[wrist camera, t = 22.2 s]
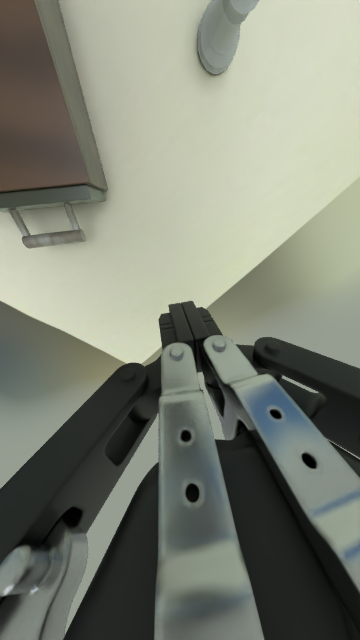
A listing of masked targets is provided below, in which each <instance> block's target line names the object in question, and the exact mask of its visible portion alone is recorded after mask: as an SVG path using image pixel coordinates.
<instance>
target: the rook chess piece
mask: <svg viewBox="0 0 360 640" xmlns="http://www.w3.org/2000/svg"><path fill="white" fill-rule="evenodd" d="M258 1H259V0H212V1H211V2H210V3H209V4H208V6H207V8H206V10H205V12H204V14H203V17H202V19H201V21H200V26H199V31H198V51H199V55H200V59H201V62H202V63H203V65H204V67H205V68H206V70H208V71H209V72H211V73H212V74H220V73H222V72H223V71H224V70H226V69H227V68H228V66H229V64H230V63H231V61H232V59H233V56H234V55H235V52H236V49H237V45H238V42H239V36H240V25H241V22H243V21H244V20H245V19H246V17H247V15H248V13H249V12H250V11H251V10H253V9H254V8H255V6H256V5H257V3H258Z"/></svg>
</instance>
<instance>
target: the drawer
mask: <svg viewBox="0 0 360 640" xmlns="http://www.w3.org/2000/svg"><path fill="white" fill-rule="evenodd" d="M100 201H105V197H104V193H103V191H102V190H100V189H97V188H94V187H92V186H89V185H86V184H84V185H74V186H64V187H54V188H44V189H34V190H24V191H14V192H4V193H0V212H8V211H9V212H10V213H11V215H12V217H13V219H14V221H15V222H16V224H17V226H18V228H19V229H20V231H21V233H22V235H23V237H22V241H23V244H24V245H25V246H26V247H27V248H36V247H44V246H52V245H60V244H67V243H75V242H83V241H86V238H85V234H84V232H83V231H82V230H81V229H80V228H79V225H78V223H77V220H76V218H75V215H74V212H73V210H72V207H71V205H72V204H81V203H91V202H100ZM63 205H64V207H65V209H66V212H67V214H68V217H69V219H70V222H71V224H72V227H73V229H74V230H71V231H63V232H55V233H47V234H39V235H31V236H30V233H29V231H28V229H27V227H26V225H25V223H24V222H23V220H22V218H21V216H20V214H19V212H18V210H26V209H35V208H45V207H54V206H63ZM79 229H80V230H79Z"/></svg>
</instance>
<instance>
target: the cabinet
mask: <svg viewBox="0 0 360 640" xmlns="http://www.w3.org/2000/svg"><path fill="white" fill-rule="evenodd" d="M84 184H86V185H89V186H92V187H94V188H97V189H100V190H102V191H107V190H108V188H107V184H106V180H105V176H104V172H103V169H102V165H101V161H100V157H99V154H98V150H97V146H96V142H95V139H94V135H93V131H92V127H91V124H90V120H89V116H88V112H87V108H86V105H85V101H84V97H83V93H82V90H81V86H80V82H79V78H78V75H77V71H76V67H75V63H74V60H73V56H72V52H71V48H70V44H69V41H68V37H67V33H66V29H65V26H64V22H63V18H62V14H61V11H60V7H59V3H58V0H0V193H4V192H14V191H24V190H34V189H44V188H54V187H64V186H74V185H84Z"/></svg>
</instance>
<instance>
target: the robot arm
mask: <svg viewBox="0 0 360 640" xmlns="http://www.w3.org/2000/svg"><path fill="white" fill-rule="evenodd" d="M169 312H170V313H165V314H161V316H160V318H159V326H160V333H161V341H162V353H161V356H160V357H159V358H158V359H157V360H156V361H154V362H153V363H151V364H149V365H147V366H145V367H144V366H143V365H141V364H139V363H128V364H126V365H123V366H121V367H120V368H118V369H117V370H116V371H115V372H114V373H113V374H112V375H111V377H109V378H108V380H107V381H105V383H104V384H103V385H102V386H101V387H100V388H99V389H98V390H97V391H96V392H95V393H94V394H93V395H92V396H91V397H90V398H89V399H88V400H87V401H86V402H85V403H84V404H83V405H82V406H81V407H80V408H79V409H78V410H77V411H76V412H75V413H74V414H73V415H72V416H71V417H70V418H69V419H68V420H67V421H66V422H65V423H64V424H63V426H61V427H60V429H59V430H58V431H57V432H56V433H55V434H54V435H53V436H52V437H51V438H50V439H49V440H48V441H47V442H46V443H45V444H44V445H43V446H42V447H41V448H40V449H39V450H38V451H37V452H36V453H35V454H34V455H33V456H32V457H31V458H30V459H29V460H28V461H27V462H26V463H25V464H24V465H23V466H22V467H21V468H20V470H19V471H17V473H16V474H15V475H14V476H13V477H12V478H11V479H10V480H9V481H8V482H7V483H6V484H5V485H4V486H3V487H2V488H1V489H0V640H360V460H359V459H358V458H356V457H355V456H353V455H351V454H350V453H348V452H347V451H349V452H351V453H353V454H354V455H356V456H358V457H359V458H360V369H359V368H357V367H354V366H351V365H348V364H346V363H343V362H340V361H337V360H334V359H332V358H329V357H326V356H323V355H321V354H318V353H315V352H312V351H310V350H307V349H304V348H301V347H298V346H296V345H293V344H290V343H287V342H285V341H282V340H279V339H276V338H272V337H263V338H260V339H258V340H257V341H256V342H255V345H254V346H250V345H238V344H235V343H234V342H233V341H232V340H231V339H230V338H228V337H226V336H223V335H222V333H221V331H220V330H219V328H218V327H217V325H216V323H215V321H214V320H213V318H212V317H211V315H210V313H209V312H208V310H206V309H204V308H203V307H200V308H196V306H195V304H194V302H193V301H188V302H182V303H181V304H180V303H176V304H170V305H169ZM198 372H203V375H204V383H205V387H206V389H207V391H208V394H209V395H210V398H211V401H212V403H213V405H214V408H215V409H216V412H217V414H218V416H219V419H220V422H221V425H222V430H223V434H224V437H225V440H216V439H214V435H213V431H212V426H211V422H210V418H209V414H208V409H207V405H206V401H205V397H204V393H203V390H201V388H200V383H199V379H198V374H197V373H198ZM282 375H284V376H286V377H288V378H290V379H292V380H294V381H296V382H299V383H301V384H303V385H305V386H307V387H309V388H311V389H313V390H316V391H318V392H319V393H312V392H309V391H307V390H305V389H303V388H301V387H299V386H297V385H295V384H293V383H291V382H289V381H287V380H284V379H282ZM158 413H159V462H158V463H157V464H156V465H154V466H153V468H152V469H151V470H150V471H149V472H148V473H147V475H146V476H145V477H144V479H143V480H142V482H141V483H140V485H139V487H138V488H137V490H136V492H135V494H134V496H133V498H132V500H131V502H130V504H129V506H128V508H127V510H126V512H125V514H124V517H123V518H122V521H121V522H120V525H119V527H118V529H117V531H116V533H115V535H114V537H113V539H112V541H111V543H110V545H109V547H108V549H107V551H106V553H105V555H104V557H103V559H102V561H101V563H100V565H99V567H98V570H97V571H96V573H95V576H94V578H93V580H92V582H91V584H90V586H89V588H88V590H87V592H86V594H85V596H84V598H83V600H82V602H81V604H80V606H79V608H78V610H77V612H76V614H75V616H74V618H73V620H72V622H71V624H70V627H69V628H68V631H67V633H66V635H65V628H66V622H67V618H68V614H69V610H70V607H71V604H72V601H73V598H74V596H75V594H76V592H77V589H78V587H79V585H80V583H81V580H82V578H83V575H84V572H85V568H86V564H87V558H88V541H87V537H86V533H87V531H88V530H89V528H90V526H91V525H92V523H93V521H94V520H95V518H96V516H97V515H98V513H99V511H100V510H101V508H102V506H103V505H104V503H105V501H106V500H107V498H108V496H109V495H110V493H111V491H112V489H113V488H114V486H115V485H116V483H117V482H118V480H119V478H120V476H121V475H122V473H123V472H124V470H125V468H126V466H127V465H128V463H129V462H130V460H131V458H132V457H133V455H134V453H135V452H136V450H137V448H138V447H139V445H140V443H141V442H142V440H143V438H144V437H145V435H146V433H147V432H148V430H149V428H150V427H151V425H152V423H153V422H154V420H155V418H156V416H157V414H158ZM326 438H327V439H329V440H330V441H332V442H334V443H335V444H337V445H339V446H341V447H342V448H344V449H346V450H347V451H345V450H343V449H342V448H340V447H339V446H337V445H335V444H334V443H332V442H330V441H329V440H327V439H326ZM64 636H65V637H64Z"/></svg>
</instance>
